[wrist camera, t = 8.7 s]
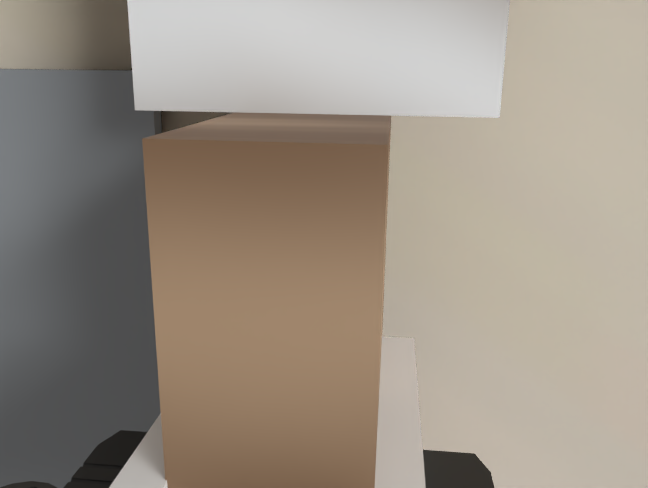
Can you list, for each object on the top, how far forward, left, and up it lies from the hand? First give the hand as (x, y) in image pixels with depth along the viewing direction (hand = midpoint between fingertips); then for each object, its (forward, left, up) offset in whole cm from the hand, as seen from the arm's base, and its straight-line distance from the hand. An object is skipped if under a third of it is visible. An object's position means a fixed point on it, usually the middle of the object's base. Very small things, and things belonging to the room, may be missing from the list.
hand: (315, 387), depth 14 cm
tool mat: (-4, +8, -3) cm, 10 cm away
